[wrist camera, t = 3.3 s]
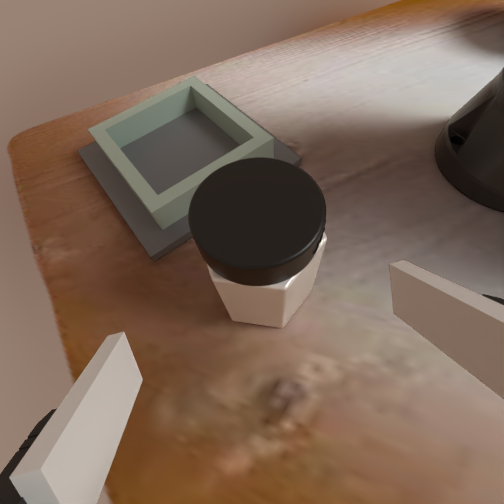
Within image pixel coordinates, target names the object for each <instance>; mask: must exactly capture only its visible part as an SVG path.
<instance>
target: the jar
mask: <svg viewBox="0 0 504 504" xmlns="http://www.w3.org/2000/svg"><path fill="white" fill-rule="evenodd" d="M188 221H189V228H190V231H191V234H192V236H193V238H194V240H195V242H196V245H197V247H198V249H199V251H200V253H201V255H202V257H203V259H204V260H205V262H206V264H207V267H208V270H209V273H210V276H211V279H212V281H213V283H214V285H215V287H216V289H217V291H218V293H219V295H220V297H221V299H222V301H223V303H224V305H225V307H226V309H227V311H228V313H229V315H230V317H231V319H232V320H233V321H237V322H244V323H251V324H257V325H264V326H271V327H277V328H283V327H284V326H285V325H286V324H287V322H288V321H289V320H290V318H291V317H292V316H293V314H294V313H295V312H296V311H297V309H298V308H299V307H300V305H301V304H302V303H303V301H304V300H305V299H306V297H307V296H308V295H309V294H310V292H311V291H312V288H313V285H314V282H315V278H316V275H317V272H318V268H319V265H320V261H321V258H322V255H323V251H324V248H325V244H326V241H327V236H326V235H325V233H324V230H325V227H324V226H325V222H326V204H325V199H324V196H323V193H322V191H321V189H320V187H319V186H318V184H317V183H316V182H315V180H314V179H313V178H312V177H311V176H310V175H309V174H308V173H306V172H305V171H304V170H302V169H301V168H299V167H298V166H296V165H294V164H291V163H289V162H286V161H283V160H279V159H274V158H266V157H255V158H246V159H241V160H237V161H234V162H231V163H228V164H226V165H224V166H222V167H220V168H218V169H217V170H215V171H214V172H212V173H211V174H210V175H209V176H208V177H206V178H205V179H204V180H203V181H202V183H201V184H200V185H199V186H198V188H197V189H196V191H195V193H194V195H193V197H192V199H191V202H190V206H189V211H188Z"/></svg>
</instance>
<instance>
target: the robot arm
mask: <svg viewBox="0 0 504 504" xmlns="http://www.w3.org/2000/svg"><path fill="white" fill-rule="evenodd" d="M435 156H436V160H437V163H438V165H439V168H440V169H441V171H442V173H443V174H444V175H445V177H446V178H447V179H448V180H449V181H450V182H451V183H452V184H453V185H454V186H455V187H456V188H457V189H458V190H460V191H461V192H462V193H464V194H465V195H467V196H468V197H470V198H472V199H473V200H475V201H477V202H479V203H481V204H483V205H486V206H488V207H490V208H493V209H496V210H499V211H502V212H504V67H503V69H502V70H501V72H500V73H499V74H498V75H497V76H496V77H495V78H494V79H493V80H491V81H490V82H489V83H488V84H487V85H486V86H485V87H484V88H483V89H482V90H480V91H479V92H478V93H477V94H476V95H475V96H474V97H473V98H472V99H470V100H469V101H468V102H467V103H466V104H465V105H464V106H463V107H462V108H461V109H459V110H458V111H457V112H456V113H455V114H454V115H453V116H452V117H451V119H450V120H449V121H448V122H447V124H446V126H445V127H444V129H443V131H442V132H441V134H440V136H439V137H438V139H437V142H436V146H435ZM389 270H390V280H391V291H392V301H393V311H394V314H395V315H397V316H398V317H399V318H400V319H402V320H403V321H404V322H406V323H407V324H408V325H409V326H411V327H412V328H413V329H414V330H416V331H417V332H418V333H420V334H421V335H422V336H423V337H425V338H426V339H427V340H429V341H430V342H431V343H432V344H434V345H435V346H436V347H438V348H439V349H440V350H441V351H443V352H444V353H445V354H447V355H448V356H449V357H450V358H452V359H453V360H454V361H456V362H457V363H458V364H459V365H461V366H462V367H463V368H464V369H466V370H467V371H468V372H470V373H471V374H472V375H473V376H475V377H476V378H477V379H479V380H480V381H481V382H482V383H484V384H485V385H486V386H488V387H489V388H490V389H491V390H493V391H494V392H495V393H497V394H498V395H499V396H500V397H502V398H503V399H504V299H501V298H497V297H493V296H489V295H485V294H483V295H480V294H478V293H475V292H473V291H471V290H469V289H466V288H464V287H462V286H460V285H458V284H455V283H453V282H451V281H449V280H447V279H444V278H442V277H440V276H438V275H435V274H433V273H431V272H429V271H427V270H424V269H422V268H420V267H418V266H416V265H413V264H411V263H409V262H407V261H404V260H402V261H398V262H394V263H390V264H389ZM142 381H143V379H142V376H141V374H140V371H139V369H138V366H137V363H136V361H135V358H134V356H133V353H132V351H131V348H130V345H129V343H128V340H127V338H126V335H125V333H124V332H120V333H116V334H112V335H108V336H107V338H106V339H105V340H104V342H103V343H102V345H101V346H100V348H99V349H98V351H97V352H96V353H95V355H94V356H93V358H92V359H91V361H90V362H89V363H88V365H87V366H86V368H85V369H84V371H83V372H82V374H81V375H80V376H79V378H78V379H77V381H76V382H75V384H74V385H73V386H72V388H71V389H70V391H69V392H68V394H67V395H66V397H65V398H64V400H63V401H62V402H61V404H60V405H59V407H58V408H57V409H54V410H51V411H50V412H49V413H48V414H47V415H46V416H45V417H44V418H43V419H42V420H41V421H40V422H38V424H37V425H36V426H35V428H34V429H33V430H32V432H31V433H30V435H29V436H28V439H27V440H25V441H24V443H23V444H22V445H21V447H20V448H19V451H17V452H16V453H15V455H14V456H13V458H12V459H11V460H10V462H9V463H8V464H7V466H6V467H5V468H4V470H3V471H2V473H1V474H0V504H97V502H98V499H99V496H100V493H101V491H102V488H103V485H104V483H105V480H106V477H107V475H108V472H109V469H110V467H111V464H112V461H113V459H114V456H115V453H116V451H117V448H118V445H119V442H120V440H121V437H122V434H123V432H124V429H125V426H126V424H127V421H128V418H129V416H130V413H131V410H132V408H133V405H134V402H135V399H136V397H137V394H138V391H139V389H140V386H141V383H142Z"/></svg>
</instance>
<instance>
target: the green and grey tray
mask: <svg viewBox="0 0 504 504" xmlns="http://www.w3.org/2000/svg"><path fill="white" fill-rule="evenodd" d="M88 130H89V132H90V133H91V135H92V136H93V138H94V139H95V142H93V143H91V144H89V145H87V146H85V147H83V148H82V149H80V150H78V153H79V154H80V156H81V157H82V159H83V160H84V161H85V163H86V164H87V166H88V167H89V169H90V170H91V172H92V173H93V174H94V176H95V177H96V179H97V180H98V182H99V183H100V185H101V186H102V188H103V189H104V190H105V192H106V193H107V195H108V196H109V198H110V199H111V201H112V202H113V203H114V205H115V206H116V208H117V209H118V211H119V212H120V214H121V215H122V217H123V218H124V219H125V221H126V222H127V224H128V225H129V227H130V228H131V230H132V231H133V232H134V234H135V235H136V237H137V238H138V240H139V241H140V243H141V244H142V246H143V247H144V248H145V250H146V251H147V253H148V254H149V256H150V257H151V258H152V260H153V261H154V262H155V261H156V260H158V259H159V258H161V257H162V256H164V255H165V254H167V253H168V252H170V251H171V250H173V249H174V248H176V247H177V246H179V245H180V244H182V243H183V242H185V241H186V240H188V239H189V238H191V237H192V234H191V231H190V228H189V221H188V211H189V206H190V202H191V199H192V197H193V195H194V193H195V191H196V189H197V188H198V186H199V185H200V184H201V183H202V181H203V180H204V179H205V178H206V177H208V176H209V175H210V174H211V173H212V172H214V171H215V170H217V169H218V168H220V167H222V166H224V165H226V164H228V163H231V162H234V161H237V160H241V159H246V158H255V157H266V158H274V159H279V160H283V161H286V162H289V163H291V164H294V165H296V166H299V165H301V160H302V158H301V157H300V156H299V155H298V154H296V153H295V152H294V151H292V150H291V149H290V148H289V147H287V146H286V145H285V144H283V143H282V142H281V141H280V140H278V139H277V138H276V137H274V136H273V135H272V134H271V133H269V132H268V131H267V130H265V129H264V128H263V127H262V126H260V125H259V124H258V123H256V122H255V121H254V120H253V119H251V118H250V117H249V116H247V115H246V114H245V113H244V112H242V111H241V110H240V109H238V108H237V107H236V106H235V105H233V104H232V103H231V102H229V101H228V100H227V99H226V98H224V97H223V96H222V95H220V94H219V93H218V92H217V91H215V90H214V89H213V88H211V87H210V86H209V85H208V84H204V83H203V82H202V81H200V80H199V79H198V78H197V77H195V76H193V77H191V78H189V79H187V80H185V81H183V82H181V83H179V84H177V85H175V86H173V87H171V88H169V89H167V90H165V91H163V92H161V93H159V94H157V95H155V96H153V97H151V98H149V99H147V100H145V101H143V102H141V103H139V104H137V105H135V106H133V107H131V108H129V109H127V110H125V111H123V112H121V113H119V114H117V115H115V116H113V117H111V118H109V119H107V120H105V121H103V122H101V123H99V124H97V125H95V126H93V127H92V128H90V129H88Z"/></svg>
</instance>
